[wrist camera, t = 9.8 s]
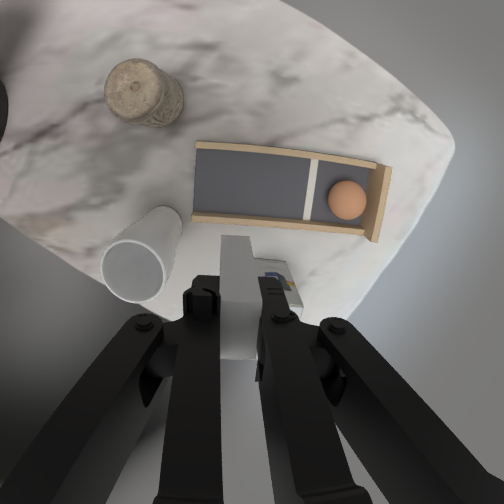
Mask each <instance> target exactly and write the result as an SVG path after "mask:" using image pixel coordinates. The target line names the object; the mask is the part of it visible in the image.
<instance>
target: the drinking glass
mask: <svg viewBox="0 0 504 504" xmlns="http://www.w3.org/2000/svg"><path fill="white" fill-rule="evenodd" d="M181 232H182V221H181V218H180V216H179V215H178V213H177V212H176V211H175V210H173V209H171V208H169V207H165V206H159V207H156V208H154V209H152V210H150V211H149V212H148V213H147V214H146V215H145V216H143V217H142V218H140V219H139V220H137V221H136V222H134V223H133V224H131V225H130V226H128V227H127V228H125V229H124V230H123V231H122V232H121V233H119V234H118V235H117V236H116V237H115V238H114V240H113V241H112V242H111V243H110V244H109V246H108V247H107V248H106V249H105V251H104V252H103V254H102V257H101V261H100V271H101V276H102V279H103V281H104V283H105V285H106V286H107V288H108V289H109V290H110V291H111V292H112V293H113V294H114V295H116V296H117V297H118V298H120V299H122V300H124V301H127V302H131V303H145V302H149V301H151V300H153V299H155V298H156V297H157V296H158V295H159V294H160V293H161V292H162V290H163V288H164V286H165V284H166V282H167V280H168V278H169V276H170V273H171V271H172V268H173V264H174V260H175V255H176V250H177V246H178V241H179V237H180V235H181Z"/></svg>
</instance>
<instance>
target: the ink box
mask: <svg viewBox="0 0 504 504" xmlns="http://www.w3.org/2000/svg"><path fill="white" fill-rule="evenodd" d="M254 262H255V267H256V272H257V276H258V277H275V278H277V279H278V280H279V281H280V282H281V284H282V287H283V290H284V293H285V296H286V299H287V302H288V305H289V308H290V310H292V311H293V312H295V313H296V314H297V315H298V317H299V320H300V319H301V315H302V312H303V308H304V306H303V303H302V301H301V298H300V296H299V293H298V291H297V288H296V286H295V283H294V281H293V278H292V276H291V274H290V271H289V269H288V267H287V264H286V262H283V261H275V260H265V259H254ZM253 360H258V356H257V354H256V359H253Z"/></svg>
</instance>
